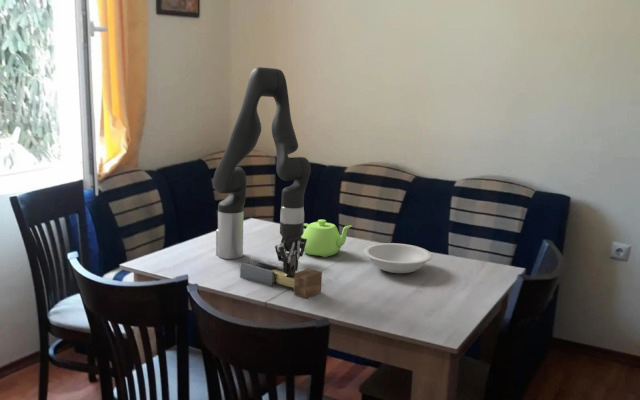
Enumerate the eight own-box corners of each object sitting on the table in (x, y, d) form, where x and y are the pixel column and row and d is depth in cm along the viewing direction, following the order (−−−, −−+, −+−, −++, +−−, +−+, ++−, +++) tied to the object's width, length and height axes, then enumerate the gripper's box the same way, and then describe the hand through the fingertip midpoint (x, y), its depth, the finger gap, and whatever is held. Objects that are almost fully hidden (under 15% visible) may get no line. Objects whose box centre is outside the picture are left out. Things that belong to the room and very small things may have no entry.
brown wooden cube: (294, 294, 202) (294, 273, 200) (307, 288, 207) (308, 268, 206) (307, 298, 198) (308, 277, 197) (321, 292, 204) (321, 271, 202)
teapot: (357, 253, 248) (358, 220, 245) (342, 263, 234) (344, 229, 231) (305, 244, 256) (306, 212, 253) (289, 254, 243) (290, 220, 240)
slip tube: (268, 280, 210) (268, 251, 208) (274, 277, 212) (274, 249, 210) (306, 291, 201) (307, 261, 199) (312, 289, 203) (313, 259, 201)
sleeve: (240, 277, 215) (240, 263, 214) (252, 272, 220) (252, 259, 219) (272, 286, 207) (272, 272, 206) (283, 282, 212) (284, 267, 211)
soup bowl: (368, 257, 243) (368, 240, 241) (431, 263, 238) (433, 246, 237) (358, 277, 220) (359, 259, 218) (429, 284, 215) (430, 266, 214)
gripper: (296, 214, 210) (294, 264, 213) (268, 221, 198) (267, 274, 202) (314, 218, 205) (312, 269, 209) (287, 226, 194) (285, 280, 198)
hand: (290, 271), depth 206 cm, fingers closed on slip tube, 3 cm apart
